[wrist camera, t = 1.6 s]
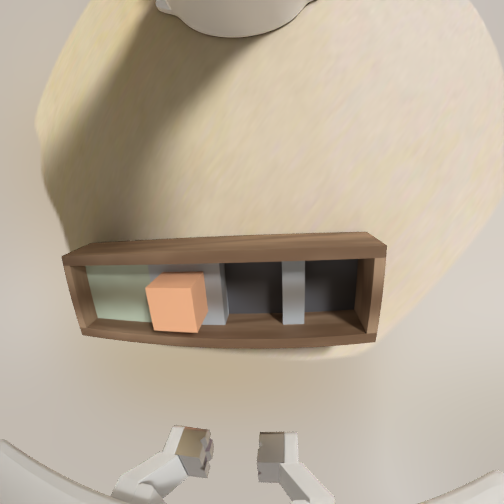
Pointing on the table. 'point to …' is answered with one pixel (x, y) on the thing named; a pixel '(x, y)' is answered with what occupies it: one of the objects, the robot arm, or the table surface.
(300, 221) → the table surface
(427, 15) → the table surface
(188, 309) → the block
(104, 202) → the table surface
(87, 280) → the box
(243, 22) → the robot arm
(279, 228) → the table surface
